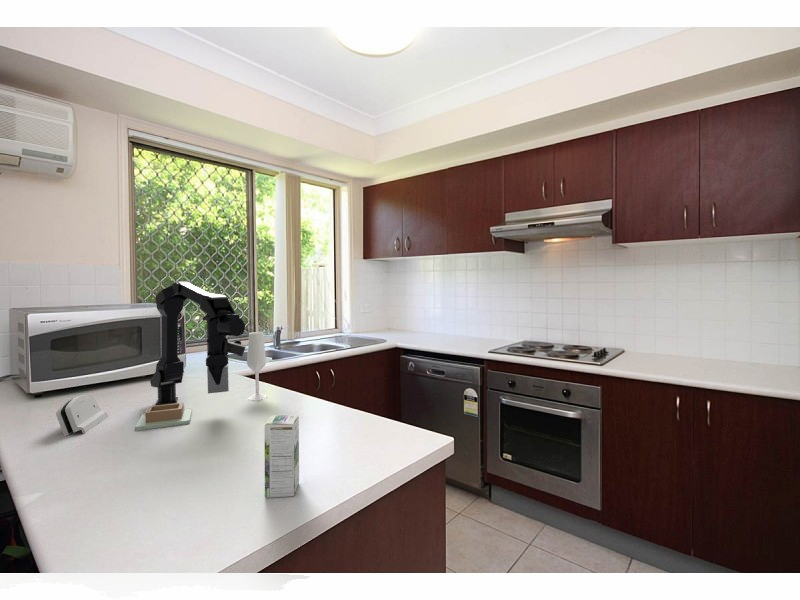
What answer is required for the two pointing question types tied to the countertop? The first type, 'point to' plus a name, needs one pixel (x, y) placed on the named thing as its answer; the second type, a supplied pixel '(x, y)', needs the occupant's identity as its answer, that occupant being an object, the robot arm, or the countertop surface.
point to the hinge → (80, 414)
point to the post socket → (164, 416)
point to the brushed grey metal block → (223, 383)
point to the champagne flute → (256, 359)
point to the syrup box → (281, 456)
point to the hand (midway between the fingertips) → (218, 383)
